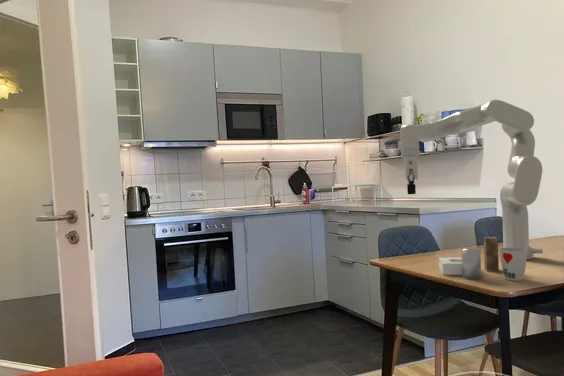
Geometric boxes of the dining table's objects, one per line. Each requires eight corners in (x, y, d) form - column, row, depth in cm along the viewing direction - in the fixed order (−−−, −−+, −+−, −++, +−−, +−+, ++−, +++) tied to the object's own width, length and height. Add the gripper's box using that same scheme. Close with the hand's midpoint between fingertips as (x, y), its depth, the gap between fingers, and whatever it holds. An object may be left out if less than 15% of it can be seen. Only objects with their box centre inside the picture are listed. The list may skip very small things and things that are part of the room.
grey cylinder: (479, 275, 152) (478, 247, 152) (483, 279, 146) (482, 250, 146) (461, 275, 153) (460, 247, 153) (464, 279, 148) (463, 250, 148)
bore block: (472, 268, 165) (472, 257, 165) (478, 275, 153) (478, 263, 153) (439, 267, 168) (438, 257, 167) (442, 274, 156) (442, 263, 156)
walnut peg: (496, 268, 162) (495, 236, 161) (498, 271, 158) (497, 238, 158) (484, 268, 163) (483, 237, 162) (486, 271, 159) (485, 238, 159)
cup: (495, 276, 149) (494, 248, 149) (517, 275, 150) (516, 246, 150) (509, 282, 141) (508, 251, 141) (533, 280, 142) (532, 250, 142)
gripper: (420, 152, 176) (421, 194, 177) (418, 154, 193) (419, 192, 193) (400, 153, 178) (402, 194, 179) (401, 155, 195) (402, 193, 195)
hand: (411, 193), depth 186 cm, fingers open, 9 cm apart
